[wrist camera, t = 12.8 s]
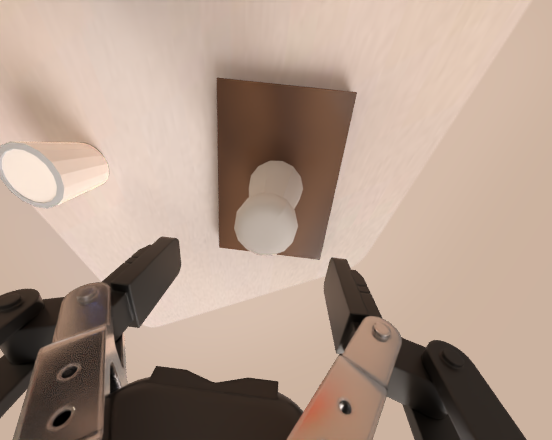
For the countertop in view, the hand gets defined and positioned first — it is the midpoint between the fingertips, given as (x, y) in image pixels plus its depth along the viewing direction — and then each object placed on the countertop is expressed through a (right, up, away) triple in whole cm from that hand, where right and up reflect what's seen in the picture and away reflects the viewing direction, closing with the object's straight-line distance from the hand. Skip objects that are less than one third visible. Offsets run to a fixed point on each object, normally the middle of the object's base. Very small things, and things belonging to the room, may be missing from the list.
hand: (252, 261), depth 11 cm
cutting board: (+1, +7, +16) cm, 18 cm away
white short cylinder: (-24, +10, +17) cm, 31 cm away
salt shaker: (+1, +7, +14) cm, 16 cm away
